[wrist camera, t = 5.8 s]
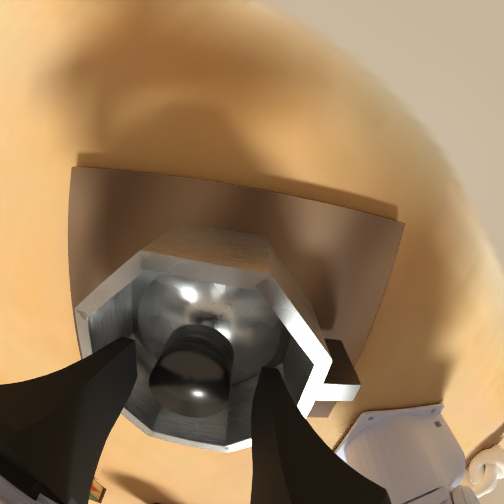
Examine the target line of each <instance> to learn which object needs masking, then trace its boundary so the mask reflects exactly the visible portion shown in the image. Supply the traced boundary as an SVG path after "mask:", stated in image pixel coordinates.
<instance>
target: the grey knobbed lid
mask: <svg viewBox="0 0 504 504" xmlns="http://www.w3.org/2000/svg"><path fill="white" fill-rule="evenodd" d="M138 324H139V329H140V333H141V336H142V338H143V341H144V342H145V344H146V346H147V348H148V349H149V351H150V352H151V354H152V355H153V356H154V357H155V358H156V359H157V362H156V364H155V366H154V368H153V371H152V373H151V375H150V377H149V387H150V390H151V392H152V394H153V396H154V397H155V398H156V400H157V401H158V402H159V403H160V404H162V405H163V406H164V407H165V408H167V409H169V410H170V411H172V412H174V413H177V414H179V415H182V416H186V417H192V418H206V417H211V416H214V415H216V414H218V413H220V412H221V411H222V410H224V408H225V407H226V406H227V404H228V401H229V393H230V384H232V383H236V382H240V381H243V380H245V379H248V378H250V377H251V376H253V375H255V374H257V373H258V372H259V371H261V368H262V366H263V367H265V366H266V365H267V364H268V363H269V361H270V360H271V359H272V357H273V356H274V354H275V352H276V349H277V347H278V344H279V339H280V323H279V317H278V316H277V315H276V313H275V312H274V311H273V309H272V308H271V307H270V305H269V304H268V303H267V301H266V300H265V299H264V297H263V296H262V295H261V293H260V292H259V291H255V290H249V289H243V288H237V287H232V286H226V285H221V284H215V283H210V282H205V281H200V280H194V279H189V278H184V277H179V276H174V275H169V274H165V273H160V274H159V275H157V276H156V277H155V278H154V279H153V281H152V282H151V283H150V284H149V285H148V287H147V288H146V290H145V291H144V293H143V295H142V298H141V300H140V304H139V308H138Z"/></svg>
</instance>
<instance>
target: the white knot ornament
mask: <svg viewBox="0 0 504 504" xmlns="http://www.w3.org/2000/svg"><path fill="white" fill-rule="evenodd" d="M500 478H504V450H502V447H501V446H500V445H494V446H492V447H491V448H490V449H485V450H483V451H480V452H479V453H477V454H476V455H475V456H474V457H473V459H472V460H471V463H470V466H468V467H467V468H466V469H465V474H464V477H463V479H462V481H461V482H460V484H459V485H462V486H469V487H470V488H471V489H472V490H473V492H474V494H475V495H476V497H477V498H478V497H480V496H482V495H484V494H486V493H489V492H490V491H492V490H493V489H494V488H495V486H496V485H497V484H498V481H499V479H500ZM471 480H472V482H473V484H472V482H471Z"/></svg>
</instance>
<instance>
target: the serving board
mask: <svg viewBox="0 0 504 504" xmlns="http://www.w3.org/2000/svg"><path fill="white" fill-rule="evenodd" d="M182 222H185V223H191V224H196V225H202V226H208V227H214V228H220V229H225V230H231V231H237V232H242V233H248V234H253V235H259V236H264V237H265V238H267V239H268V240H269V242H270V243H271V245H272V246H273V248H274V249H275V251H276V252H277V253H278V255H279V256H280V258H281V259H282V261H283V262H284V264H285V265H286V267H287V268H288V269H289V271H290V272H291V274H292V275H293V277H294V278H295V280H296V281H297V283H298V284H299V286H300V287H301V289H302V290H303V291H304V293H305V294H306V296H307V297H308V299H309V300H310V303H311V305H312V308H313V311H314V313H315V316H316V318H317V321H318V324H319V326H320V329H321V332H322V334H323V337H324V338H326V339H336V340H341V341H342V343H343V345H344V347H345V350H346V352H347V354H348V356H349V358H350V361H351V363H352V365H353V367H354V366H355V364H356V362H357V359H358V357H359V355H360V353H361V350H362V348H363V346H364V344H365V341H366V339H367V337H368V334H369V332H370V329H371V327H372V324H373V322H374V319H375V317H376V314H377V311H378V309H379V306H380V303H381V300H382V298H383V295H384V292H385V289H386V286H387V283H388V280H389V277H390V274H391V271H392V268H393V264H394V261H395V258H396V254H397V251H398V247H399V244H400V240H401V236H402V232H403V228H404V223H402V222H399V221H396V220H393V219H389V218H385V217H382V216H378V215H374V214H370V213H366V212H363V211H359V210H355V209H351V208H346V207H342V206H338V205H334V204H329V203H325V202H321V201H316V200H312V199H307V198H302V197H298V196H293V195H288V194H283V193H278V192H273V191H267V190H262V189H257V188H251V187H245V186H240V185H234V184H228V183H221V182H215V181H208V180H202V179H195V178H188V177H180V176H173V175H165V174H156V173H147V172H138V171H128V170H117V169H105V168H92V167H72V171H71V181H70V193H69V212H68V257H69V275H70V288H71V298H72V307H73V315H74V322H75V328H76V334H77V340H78V346H79V351H80V356H81V360H82V359H83V357H82V352H81V347H80V342H79V336H78V330H77V323H76V316H75V307H76V306H77V305H79V304H80V303H81V302H82V301H83V300H84V299H85V298H86V297H87V296H88V295H89V294H90V293H91V292H93V291H94V290H95V289H96V288H97V287H98V286H99V285H100V284H101V283H103V282H104V281H105V280H106V279H107V278H108V277H109V276H110V275H112V274H113V273H114V272H115V271H116V270H117V269H118V268H120V267H121V266H122V265H123V264H124V263H125V262H127V261H128V260H129V259H130V258H131V257H133V256H134V255H135V254H136V253H137V252H139V251H140V250H141V249H143V248H144V247H146V246H147V245H148V244H150V243H151V242H153V241H154V240H156V239H157V238H159V237H160V236H162V235H163V234H165V233H166V232H168V231H169V230H171V229H172V228H174V227H175V226H177V225H178V224H180V223H182ZM336 402H337V401H323V400H315V401H314V403H313V405H312V407H311V409H310V411H309V413H308V415H307V417H328V416H329V414H330V413H331V411H332V409H333V407H334V405H335V404H336Z"/></svg>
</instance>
